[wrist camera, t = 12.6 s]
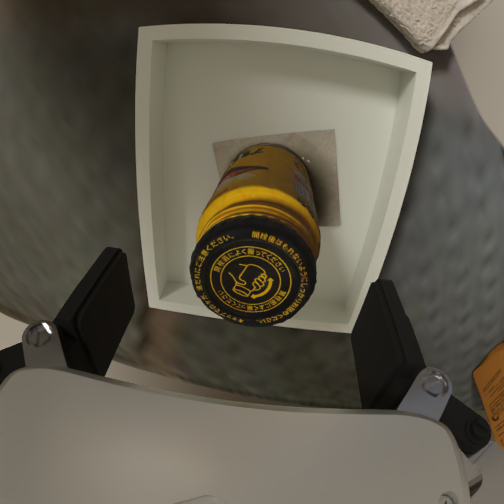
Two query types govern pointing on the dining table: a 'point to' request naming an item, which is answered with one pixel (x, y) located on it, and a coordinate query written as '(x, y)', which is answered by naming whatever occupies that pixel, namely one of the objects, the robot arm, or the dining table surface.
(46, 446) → the robot arm
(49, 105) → the dining table surface
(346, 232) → the tray
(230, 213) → the condiment
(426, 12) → the washcloth
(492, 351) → the coffee package
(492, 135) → the dining table surface
